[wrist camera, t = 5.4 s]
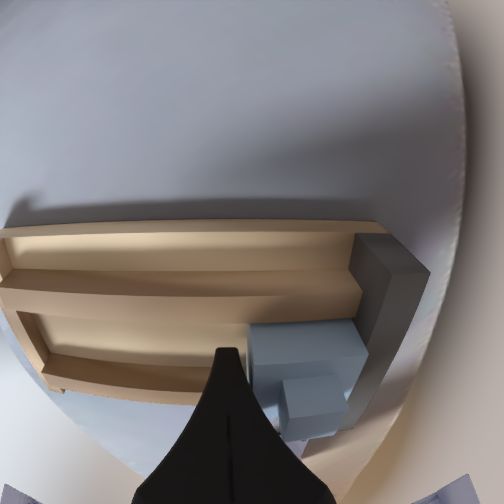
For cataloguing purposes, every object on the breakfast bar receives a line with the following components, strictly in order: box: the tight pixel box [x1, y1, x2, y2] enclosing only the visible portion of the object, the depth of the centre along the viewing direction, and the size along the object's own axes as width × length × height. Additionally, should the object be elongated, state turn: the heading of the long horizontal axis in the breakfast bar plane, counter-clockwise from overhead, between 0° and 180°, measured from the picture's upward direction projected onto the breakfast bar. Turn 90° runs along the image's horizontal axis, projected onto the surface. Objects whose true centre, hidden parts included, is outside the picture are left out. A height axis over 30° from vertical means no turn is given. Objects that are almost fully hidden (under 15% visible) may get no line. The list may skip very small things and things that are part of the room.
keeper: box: [246, 318, 369, 442], centre depth 10 cm, size 4×4×5 cm
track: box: [0, 219, 431, 432], centre depth 11 cm, size 10×18×4 cm, turn 88°
